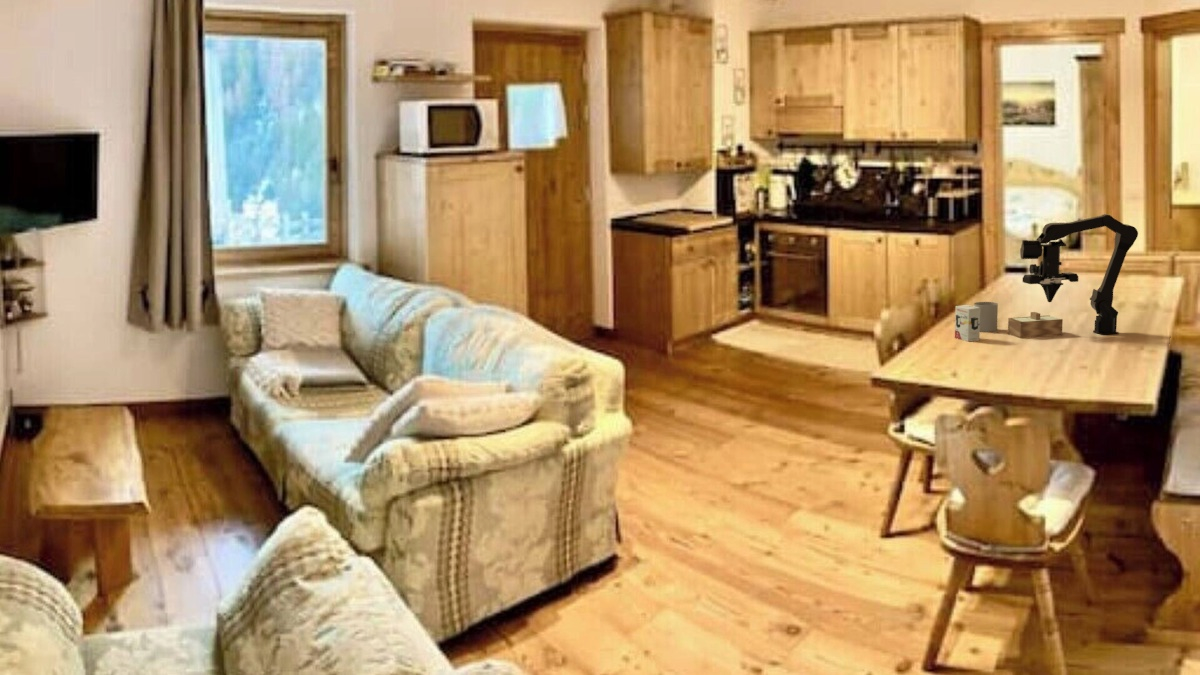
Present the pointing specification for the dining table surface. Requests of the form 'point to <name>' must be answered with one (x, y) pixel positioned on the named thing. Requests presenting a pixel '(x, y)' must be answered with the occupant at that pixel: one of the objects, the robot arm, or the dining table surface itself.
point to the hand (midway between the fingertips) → (1049, 302)
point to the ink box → (967, 323)
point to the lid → (1035, 317)
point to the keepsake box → (1034, 328)
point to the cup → (988, 316)
